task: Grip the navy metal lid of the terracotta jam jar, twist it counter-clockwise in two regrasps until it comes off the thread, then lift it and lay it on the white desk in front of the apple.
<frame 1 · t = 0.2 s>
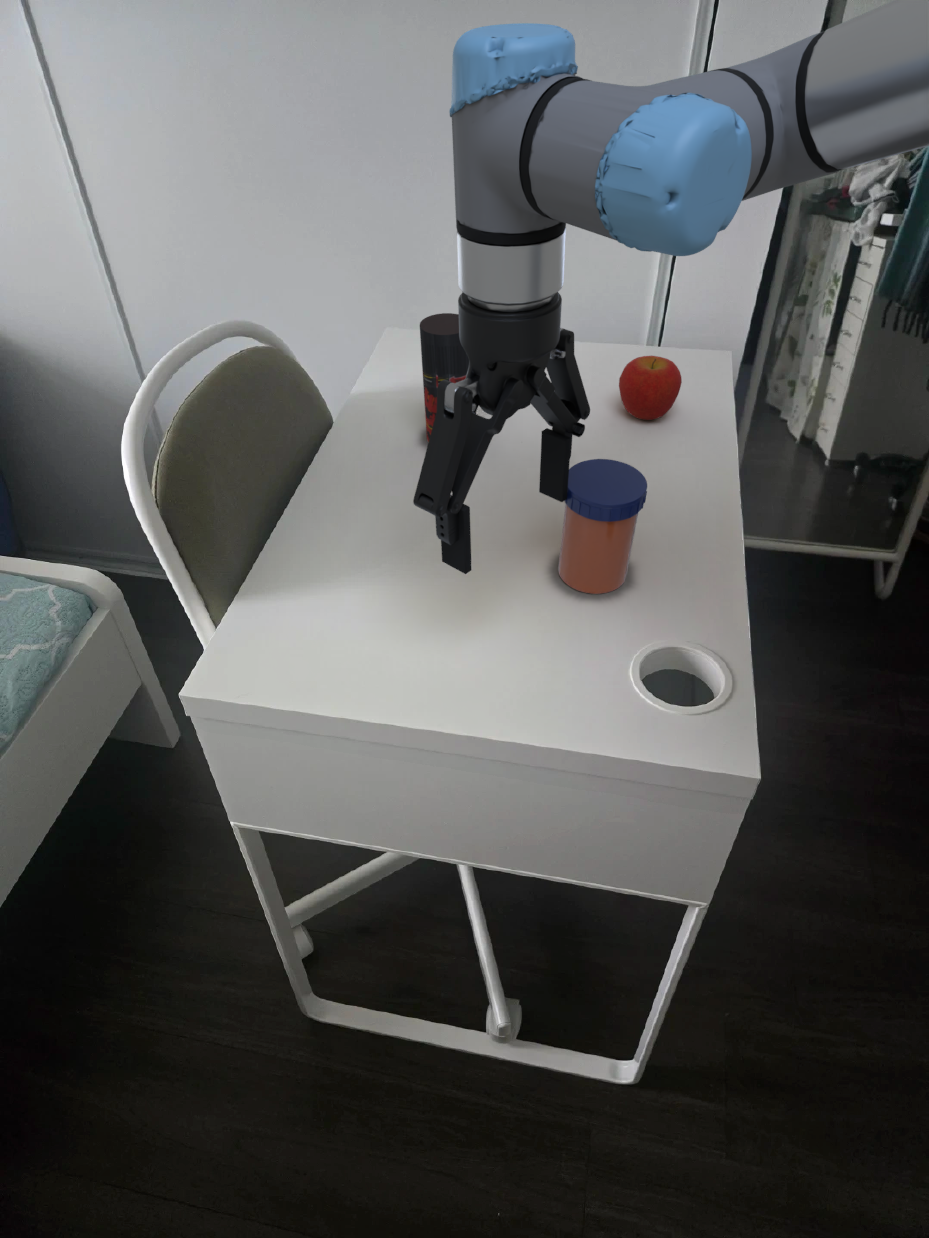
hand: (507, 529, 73), 10 cm above the table, tool pointing down, fingers open, 13 cm apart
deodorant: (450, 439, 103), on the table
jar lid: (605, 484, 76), point 11 cm above the table, screwed on, not yet turned, touching gripper
apple: (645, 415, 107), on the table
jam jar: (592, 571, 84), on the table
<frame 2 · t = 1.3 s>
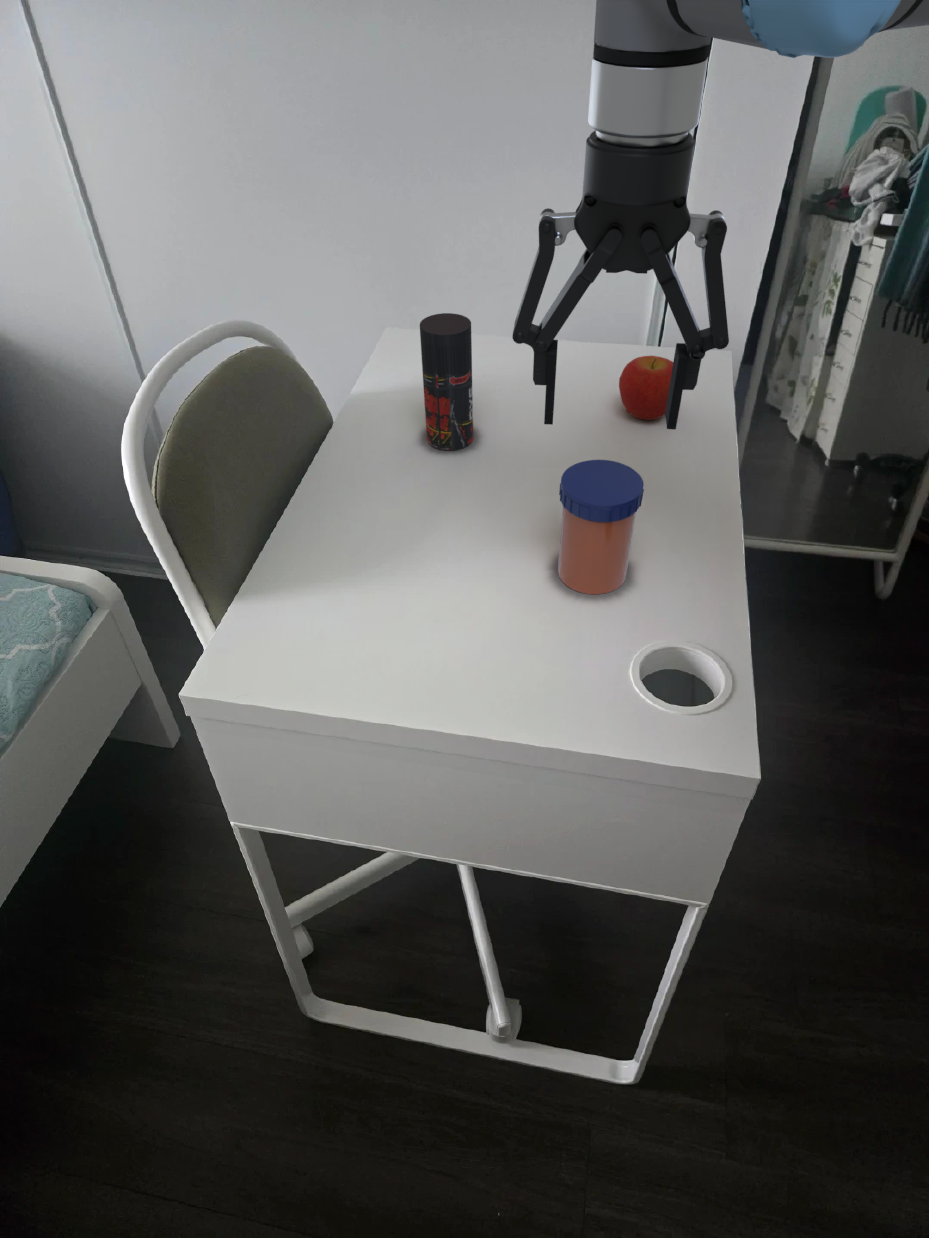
hand: (609, 419, 71), 18 cm above the table, tool pointing down, fingers open, 10 cm apart
jar lid: (601, 485, 76), point 11 cm above the table, turned 6° so far, risen 0.0 cm, still on its thread
everything else where it was.
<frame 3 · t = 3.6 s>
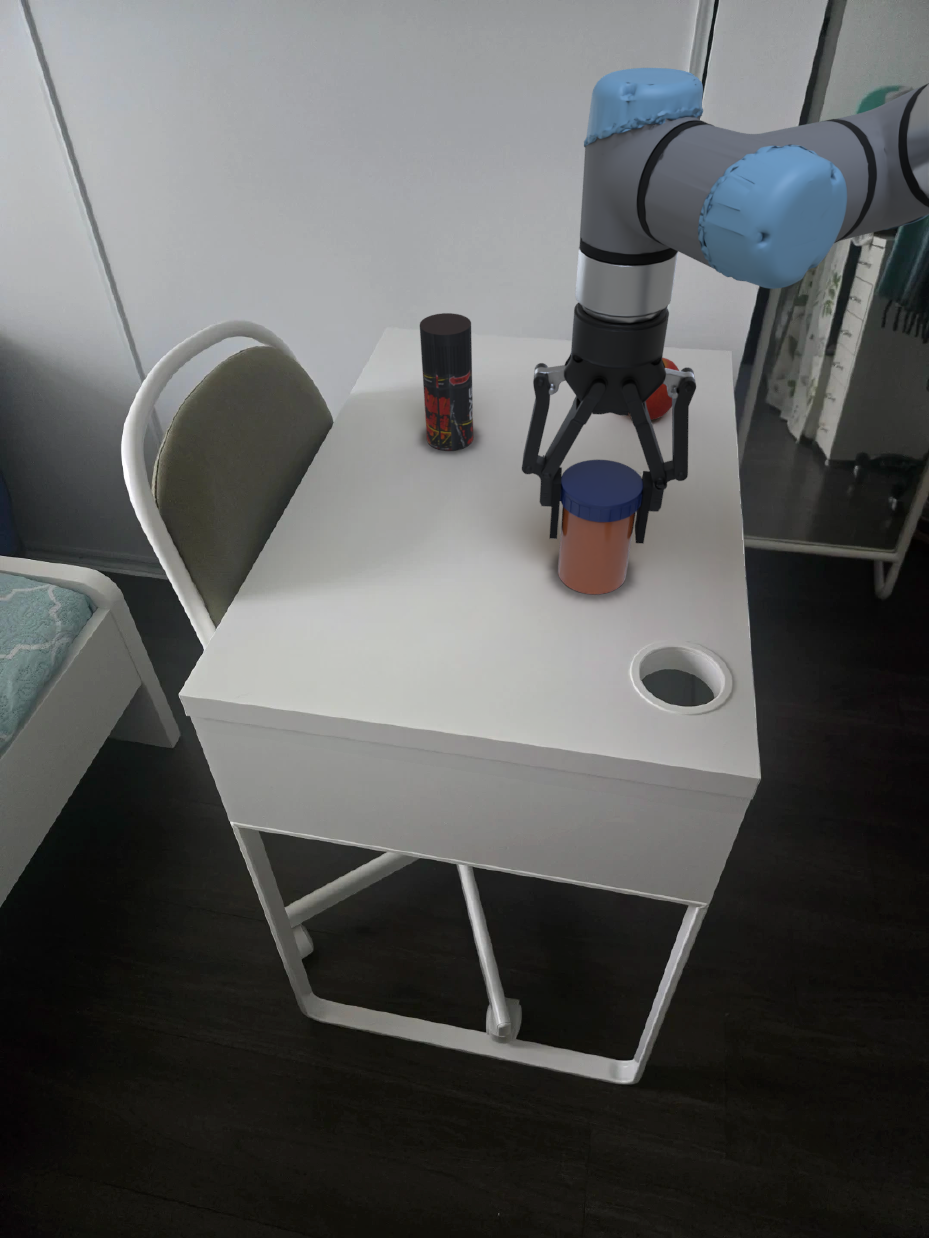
hand: (596, 532, 80), 5 cm above the table, tool pointing down, fingers closed on jar lid, 8 cm apart
jar lid: (601, 485, 76), point 11 cm above the table, turned 6° so far, risen 0.0 cm, still on its thread, touching gripper
everything else where it was.
when the fingers open (5 cm above the table, at t = 6.3 s): jar lid stays where it is, point 11 cm above the table.
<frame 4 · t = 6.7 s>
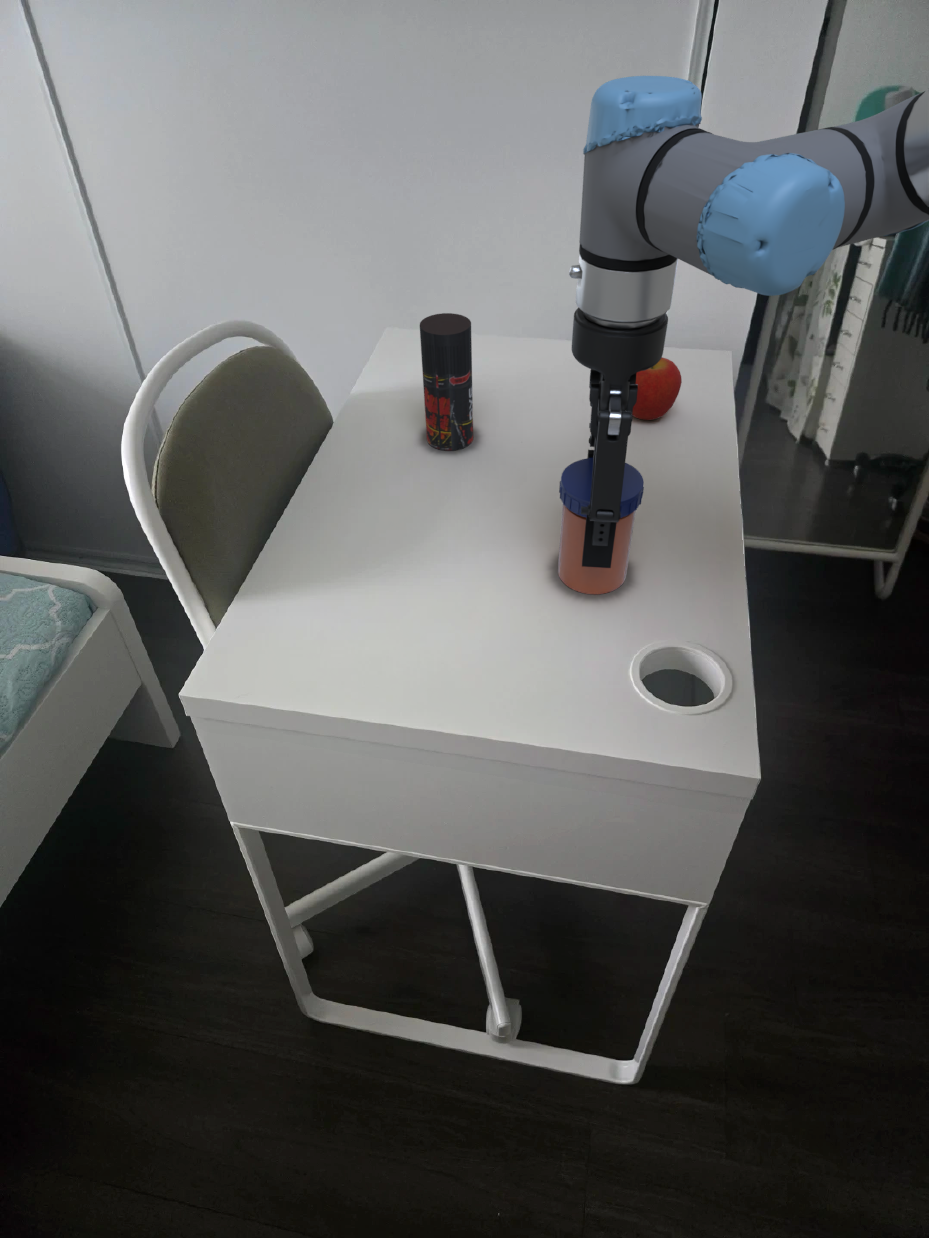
hand: (596, 534, 80), 5 cm above the table, tool pointing down, fingers open, 9 cm apart
jar lid: (601, 483, 76), point 11 cm above the table, turned 96° so far, risen 0.3 cm, still on its thread
everything else where it was.
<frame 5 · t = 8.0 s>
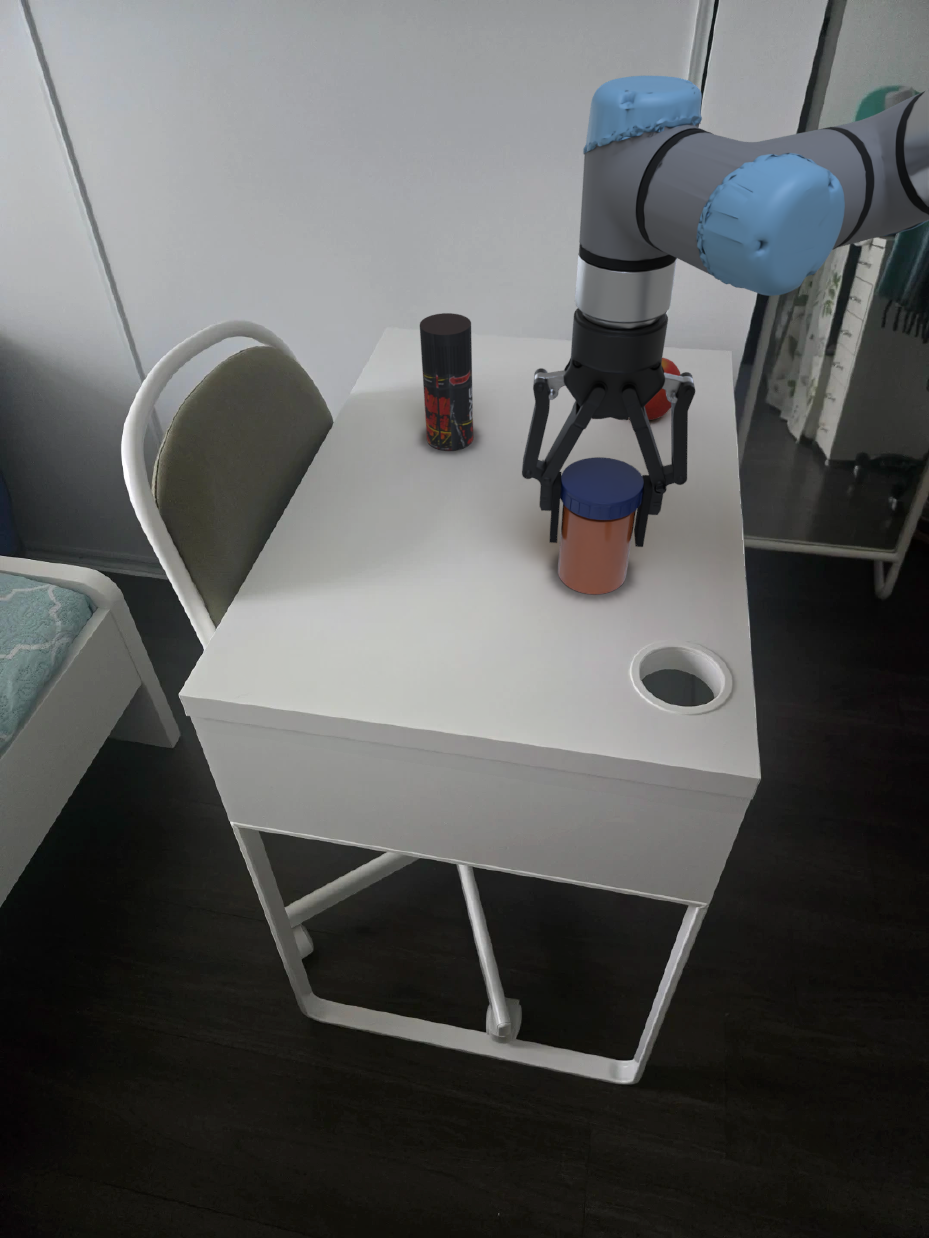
hand: (595, 536, 80), 5 cm above the table, tool pointing down, fingers closed on jar lid, 8 cm apart
jar lid: (601, 483, 76), point 11 cm above the table, turned 96° so far, risen 0.3 cm, still on its thread, touching gripper
everything else where it was.
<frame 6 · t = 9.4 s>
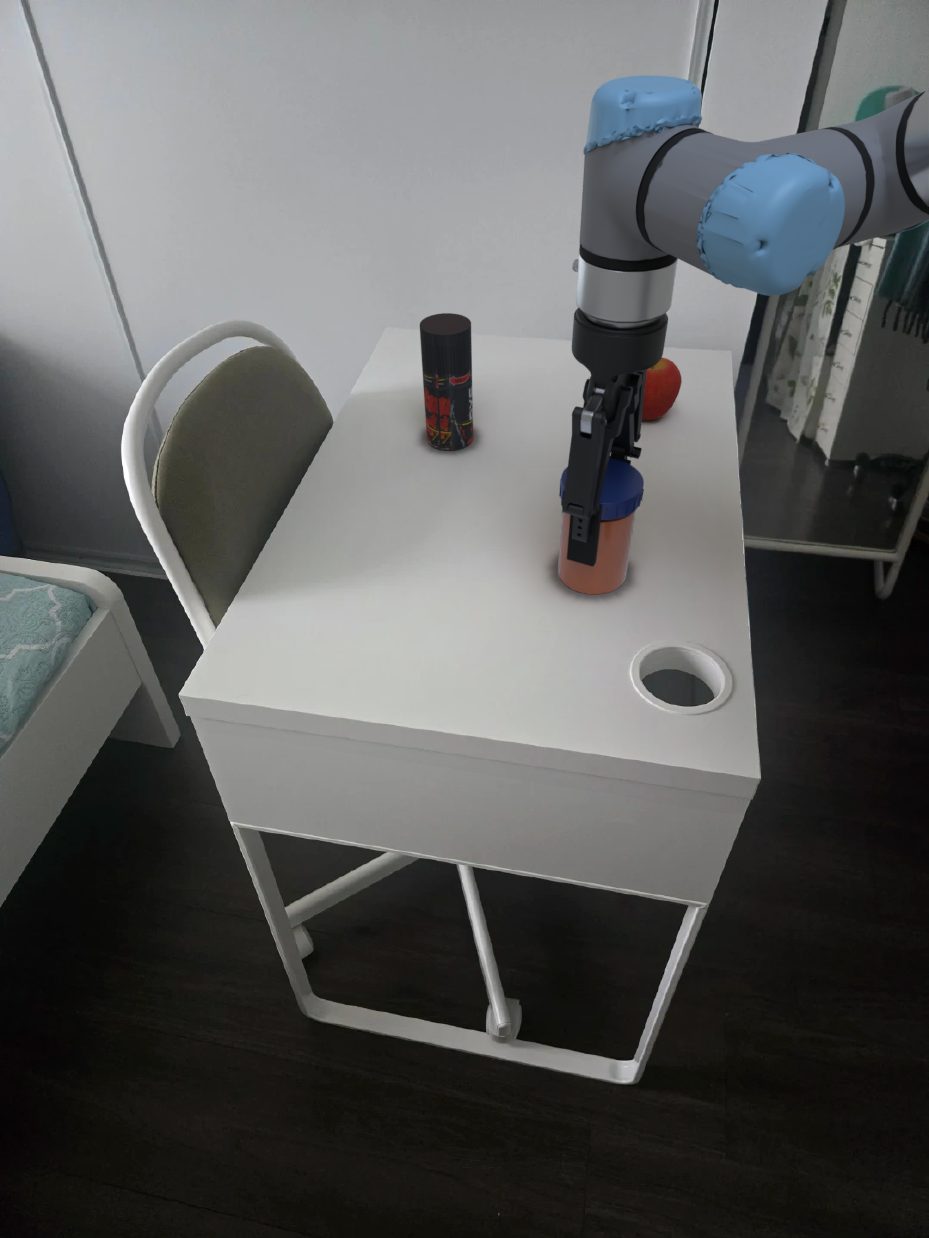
hand: (596, 536, 80), 5 cm above the table, tool pointing down, fingers closed on jar lid, 8 cm apart
jar lid: (601, 483, 76), point 11 cm above the table, off its thread, touching gripper
everything else where it was.
when the fingers open (2 cm above the table, at t = 16.7 s): jar lid drops 7 cm, point 1 cm above the table.
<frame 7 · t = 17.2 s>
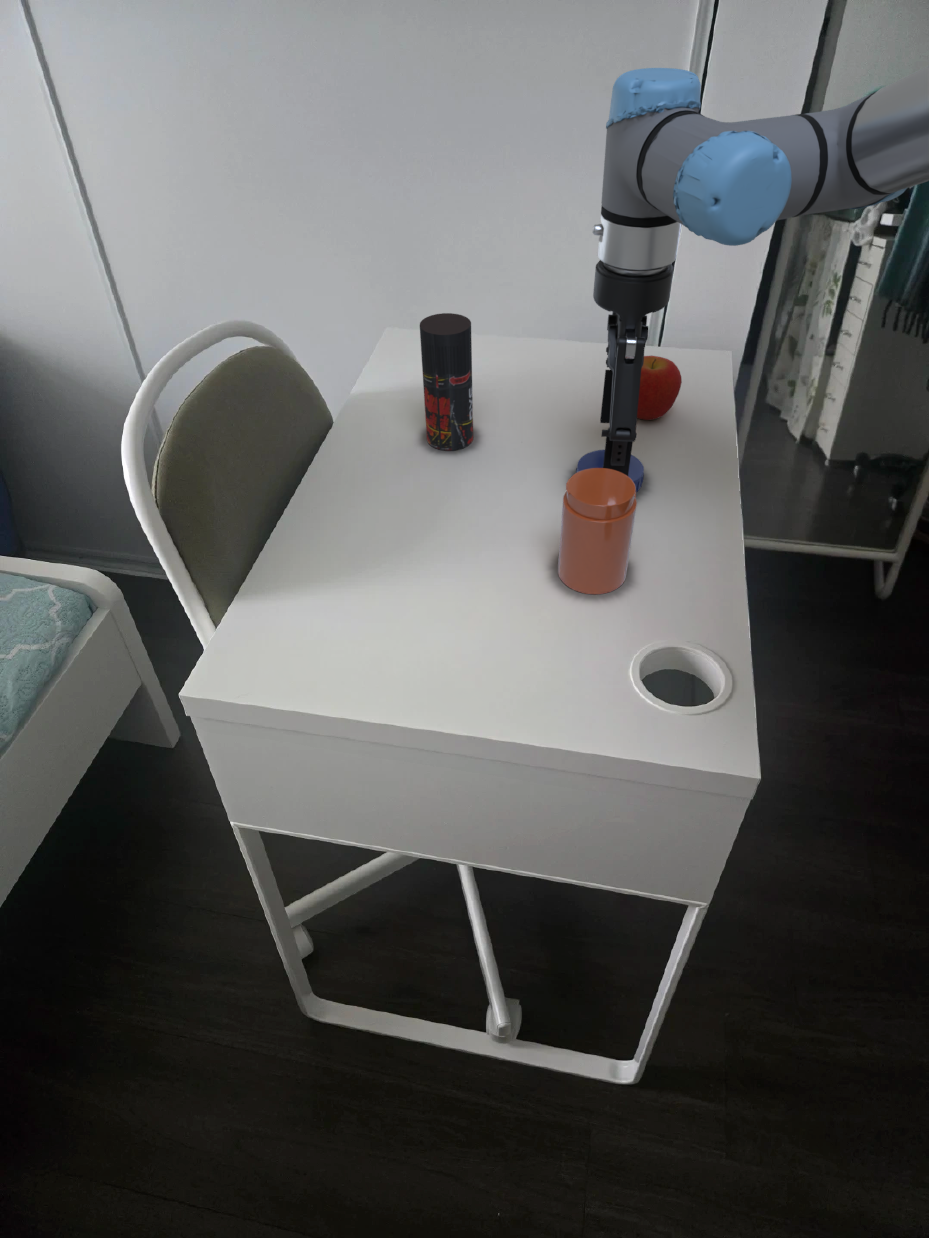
hand: (612, 452, 93), 4 cm above the table, tool pointing down, fingers open, 13 cm apart
jar lid: (610, 469, 95), point 1 cm above the table, off its thread
everything else where it was.
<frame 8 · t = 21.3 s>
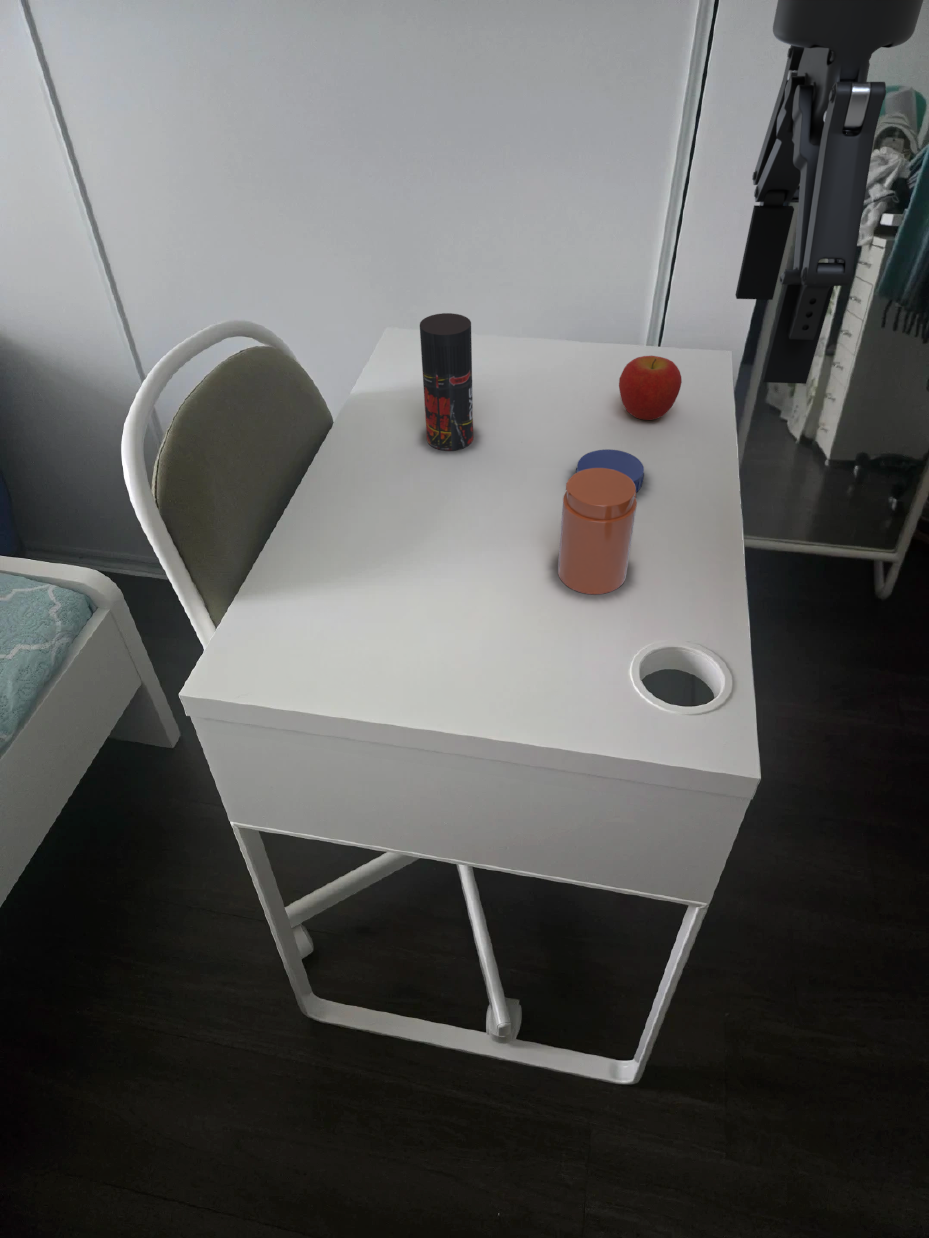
hand: (767, 336, 58), 29 cm above the table, tool pointing down, fingers open, 13 cm apart
nothing on the table moved.
at the end: jar lid came off its thread; jar lid inside the target area on the table beside the apple (1.0 cm from its centre), point 1.7 cm above the table; the gripper is holding nothing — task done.
